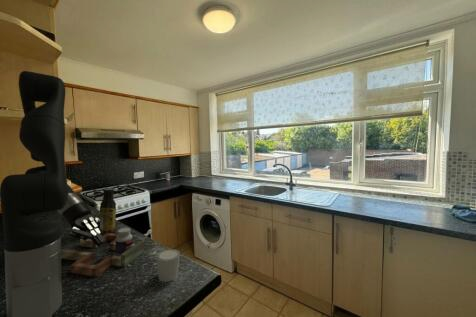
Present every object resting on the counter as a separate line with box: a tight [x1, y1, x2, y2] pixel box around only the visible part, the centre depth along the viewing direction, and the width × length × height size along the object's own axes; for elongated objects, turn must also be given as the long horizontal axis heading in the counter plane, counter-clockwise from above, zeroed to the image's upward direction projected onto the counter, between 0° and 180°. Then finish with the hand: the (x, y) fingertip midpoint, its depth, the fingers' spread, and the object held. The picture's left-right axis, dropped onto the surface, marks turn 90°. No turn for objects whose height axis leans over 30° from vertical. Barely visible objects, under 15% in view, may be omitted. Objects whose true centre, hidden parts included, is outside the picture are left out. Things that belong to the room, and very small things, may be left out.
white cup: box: [156, 248, 181, 283], centre depth 63 cm, size 7×7×7 cm
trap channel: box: [61, 233, 144, 278], centre depth 73 cm, size 26×22×4 cm
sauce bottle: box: [98, 187, 117, 235], centre depth 91 cm, size 6×6×20 cm
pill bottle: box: [114, 227, 134, 256], centre depth 72 cm, size 5×5×10 cm
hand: (102, 244), depth 73 cm, fingers closed
